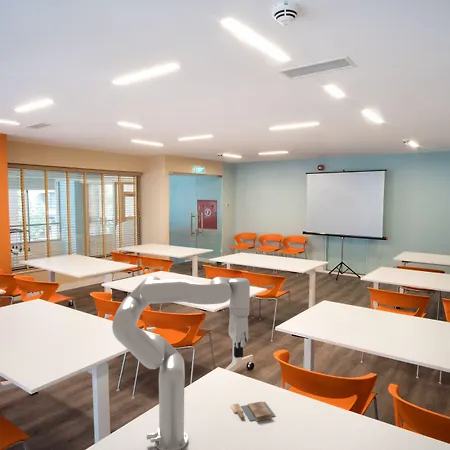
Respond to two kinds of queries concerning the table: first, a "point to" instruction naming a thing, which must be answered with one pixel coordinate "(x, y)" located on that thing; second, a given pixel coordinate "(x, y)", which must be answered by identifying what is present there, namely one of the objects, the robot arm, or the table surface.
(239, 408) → the turner
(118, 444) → the table surface
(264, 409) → the brown wooden block
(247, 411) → the mat
